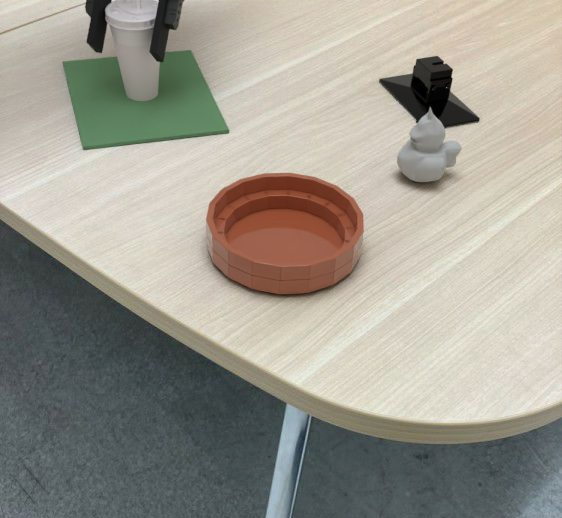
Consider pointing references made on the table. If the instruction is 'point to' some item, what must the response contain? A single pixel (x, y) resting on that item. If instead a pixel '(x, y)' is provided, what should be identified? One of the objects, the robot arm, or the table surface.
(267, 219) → the bowl
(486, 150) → the table surface
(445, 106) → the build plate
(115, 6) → the smoothie
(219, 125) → the cloth
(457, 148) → the rubber duck
